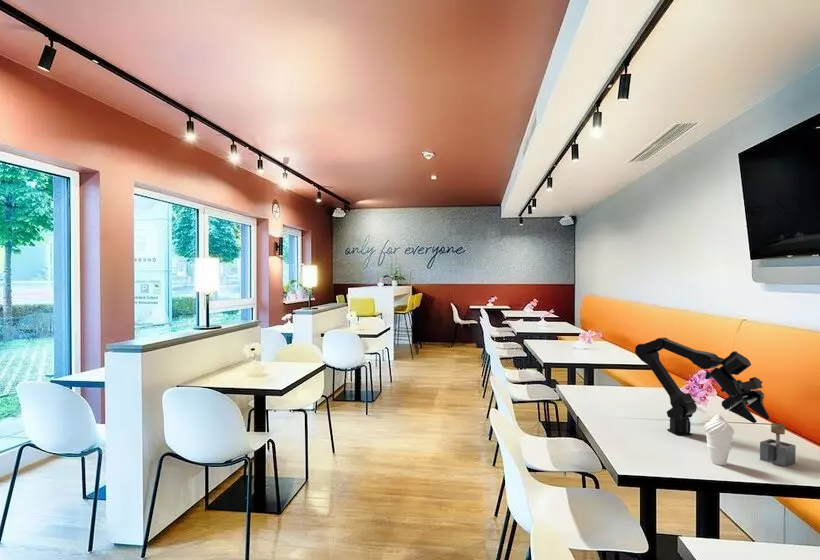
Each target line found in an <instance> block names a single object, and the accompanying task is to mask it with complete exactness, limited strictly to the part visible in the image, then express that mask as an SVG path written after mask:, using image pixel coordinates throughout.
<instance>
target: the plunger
mask: <svg viewBox="0 0 820 560" xmlns="http://www.w3.org/2000/svg"><path fill="white" fill-rule="evenodd" d="M785 430H786V425H785V424H781V423H776V422H775V423H771V425H770V432H771V433H773V434H775V440H776V443H773V442H772V443H769V444H772V445H776V446H779V447H783V448H784V447H787V446H785V445H781V444H780V441H781V440H780V438H781V435H785V433H786V431H785Z"/></svg>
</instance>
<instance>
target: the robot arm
mask: <svg viewBox="0 0 820 560" xmlns="http://www.w3.org/2000/svg"><path fill="white" fill-rule="evenodd" d="M662 350H666V351H669V352H670V353H673V354H675V355H676V356H677V355H678V356H680V357H682V358H684V359H687V360H689V361H690V362H691V363H692V364H693V365H695V366H697V367H698V368H700V369H702V370H709V369H710V370H711V371H705V377H704V378H705V380H711V379H713V381H715V382H716V384H717V385H718V387H720V388H721V389H720V392H722V393H725V394H726V395H727V396H728V397H726V398H725V399H724V400H722V401H721V406H722V408H723V409H724V410H725V411H726V410H728V411H729V412H731V413H733V414H735V415H737V416H739V417H741V418H744V419H745V420H747V421H749V422H751V423H752V424H756V423H757V422H758V421H757V419H756V418H755V416H754V415H753V414H752V412H751V411H750V410H749V409H751V410H752V411H754V412H755V413H757V415H759V416H761V417H762V418H764V419H765V420H769V419H771V418H770V415H769V413H768V411H767V410H766V408H765V405H764V399H765V394H764V392H763V391H762V390H761V389H763V388H764V387H763V385H762V384H763V381H762V380H761V379H760V378H758V377H756V376H753V377H750V378H748V379H749V380H748V381H747V380H746V381H742V380H740V379H736V378H735V377H734V376H738V375H740V374H741V373H743V372H744V371H746V370H747V369H748V368H750V367H751V366H752V363H751V361H750V360H749V358H747V357H746V356H744V355H743V354H741V353H739V352H738V351H735V350H734V351H732V352H730V354H729V355H727V356H726V357H725V358H723V357H720V356H718V354H716V353H713V352H709V351H705V350H698V349H693V348H691V347H689V346H687V345H684V344H682V343H678V342H676V341H674V340H671V339H670V338H667V337H664V336H663V337H657V338H655V339H654V340H651V341H649V342H645V343H639V344H637V345H636V346H635V349H634V353H635V355H636V357H638V359H640V361H641V362H643V363H645V364H646V365H647V366H648V367H649V368H650V370H651V371H652V373H653V374H654V376H655V377H656V378H657V380H658V382H659V383H660V384H661V386H662V387H663V389H664V390H665V391H666V393H667V394H668V397H669V402H670V403H669V404H670V406H671V408H670V409H668V410H667V411H666V414H667V417H668V418H669V428H666V431H668V432H670V433H672V434H674V435H676V436H692V435H693V433H692V432H691V418H692V417H693V415H694V414H695V413H696V412H697V408H698V406H697V403H696V402H697V401H696V400H695V399H694V398H693V396H692V394H691V393H690V392H683V391H682V390H681V389H680V388H679V386H678V384H677V383H676V382H675V380H674V378H673V377H672V375H671V374H670V373H669V372H668V370H667V369H666V367H665V366H664V365H663V363H662V362H661V360H660V354H659V352H660V351H662ZM719 366H720V367H719ZM733 375H734V376H733ZM748 408H749V409H748Z"/></svg>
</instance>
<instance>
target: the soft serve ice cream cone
mask: <svg viewBox="0 0 820 560" xmlns="http://www.w3.org/2000/svg"><path fill="white" fill-rule="evenodd" d="M703 429H704V432H705V436H706V446H707V451H708V455H709V459H710V460H709V461H710V463H712V464H714V465H717V466H726V465H727V463H728V462H727V461H728V459H729V454H730V451H731V450H732V449H731V448H732V447H731V444H732V440H733V436H734V433H735V430H734V428H733V426H731V424H729V422H728V421H726V419H725V418H724V417H723V416H722V415H721V414H719V413H718V414H716V415H714V417H712V418H711V420H710V421H708V422H707V423H705V424H704V427H703Z"/></svg>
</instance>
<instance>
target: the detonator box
mask: <svg viewBox="0 0 820 560" xmlns="http://www.w3.org/2000/svg"><path fill="white" fill-rule="evenodd" d="M772 442H773V443H776V439H773V438H769V439H766V440H762V441H760V442H759V460H760V461H763V462H767V463H770V464H772V465H776V466H779V467H782V468H783V467H784V468H787V467H790V466H791V465H792V466H793V465H795V464H796V452H797V451H796V444H792V443H788V442H783V441H781V440H780V444H781V445H785V446H787V447H784V448H783V447H779V446H776V445H772V444H769V443H772Z"/></svg>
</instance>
